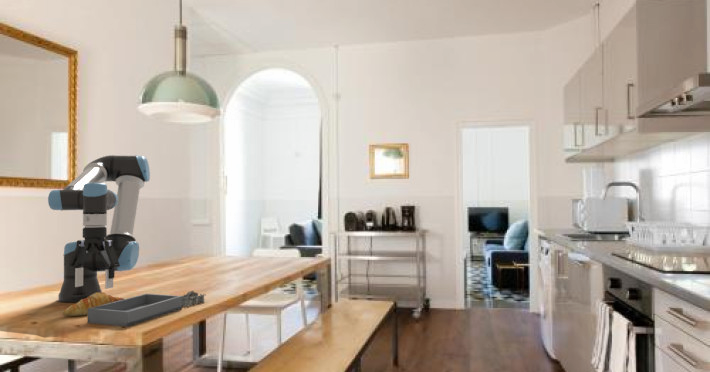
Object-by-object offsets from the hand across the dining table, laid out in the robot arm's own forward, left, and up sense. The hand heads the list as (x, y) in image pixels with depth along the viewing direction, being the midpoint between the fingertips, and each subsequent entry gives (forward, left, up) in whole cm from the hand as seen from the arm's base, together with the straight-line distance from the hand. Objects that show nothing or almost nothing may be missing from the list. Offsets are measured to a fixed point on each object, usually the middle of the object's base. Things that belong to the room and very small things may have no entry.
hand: (93, 287), depth 173 cm
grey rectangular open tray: (+19, 0, -9) cm, 21 cm away
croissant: (0, 0, -9) cm, 9 cm away
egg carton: (+23, +22, -9) cm, 34 cm away
